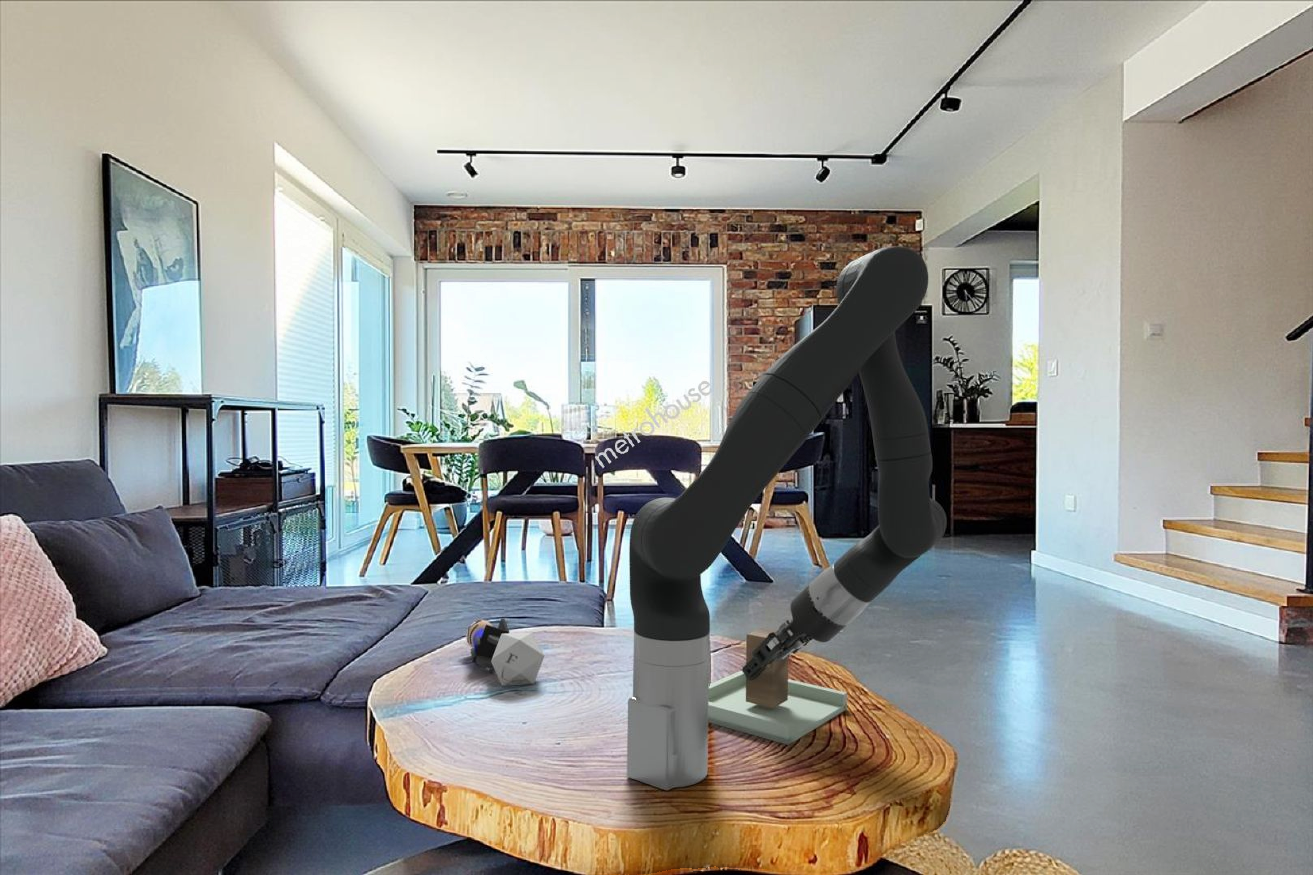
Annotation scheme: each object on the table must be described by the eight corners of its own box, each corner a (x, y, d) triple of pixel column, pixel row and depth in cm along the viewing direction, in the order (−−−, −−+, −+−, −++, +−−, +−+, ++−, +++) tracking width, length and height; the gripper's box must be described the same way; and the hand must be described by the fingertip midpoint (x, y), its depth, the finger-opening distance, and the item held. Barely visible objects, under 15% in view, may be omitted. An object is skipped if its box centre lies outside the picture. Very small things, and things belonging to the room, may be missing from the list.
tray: (788, 744, 110) (788, 726, 110) (679, 714, 121) (679, 697, 121) (846, 709, 124) (847, 692, 124) (744, 684, 135) (744, 669, 135)
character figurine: (469, 679, 137) (467, 654, 151) (513, 673, 139) (507, 649, 153) (465, 632, 137) (464, 612, 151) (510, 626, 138) (504, 607, 153)
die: (479, 684, 135) (482, 647, 129) (508, 647, 142) (512, 611, 136) (522, 707, 133) (527, 670, 127) (550, 669, 140) (555, 632, 134)
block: (772, 708, 119) (773, 639, 119) (745, 701, 122) (746, 633, 122) (787, 700, 123) (788, 633, 122) (761, 693, 125) (762, 628, 125)
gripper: (836, 573, 123) (764, 640, 130) (789, 587, 112) (714, 660, 119) (869, 614, 120) (794, 680, 127) (825, 633, 108) (745, 705, 116)
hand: (755, 670), depth 123 cm, fingers closed on block, 4 cm apart
